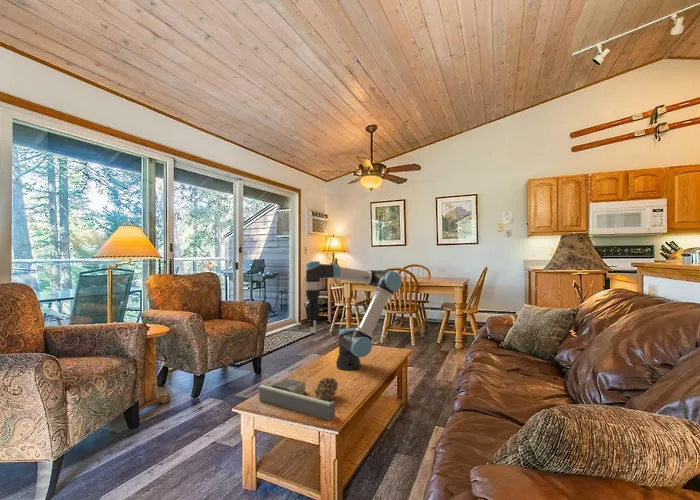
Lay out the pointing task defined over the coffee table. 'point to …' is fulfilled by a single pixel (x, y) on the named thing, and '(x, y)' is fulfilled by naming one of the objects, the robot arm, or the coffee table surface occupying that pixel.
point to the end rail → (297, 402)
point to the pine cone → (326, 389)
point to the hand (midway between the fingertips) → (313, 332)
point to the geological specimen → (290, 386)
